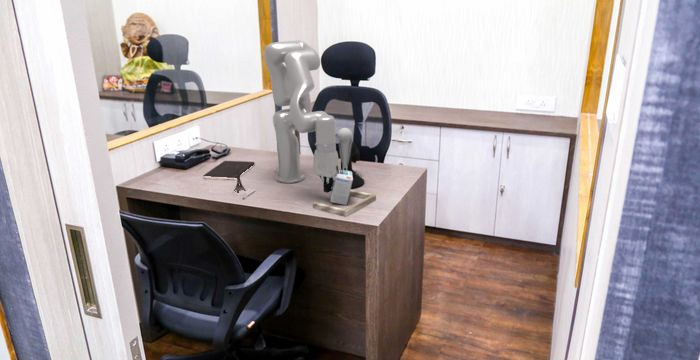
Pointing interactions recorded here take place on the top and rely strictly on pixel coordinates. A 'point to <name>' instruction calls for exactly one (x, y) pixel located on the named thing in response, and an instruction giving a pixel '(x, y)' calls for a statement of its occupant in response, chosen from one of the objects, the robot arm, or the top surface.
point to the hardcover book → (229, 169)
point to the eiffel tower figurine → (239, 187)
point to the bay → (345, 212)
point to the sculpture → (349, 155)
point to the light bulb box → (341, 187)
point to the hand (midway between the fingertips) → (327, 191)
